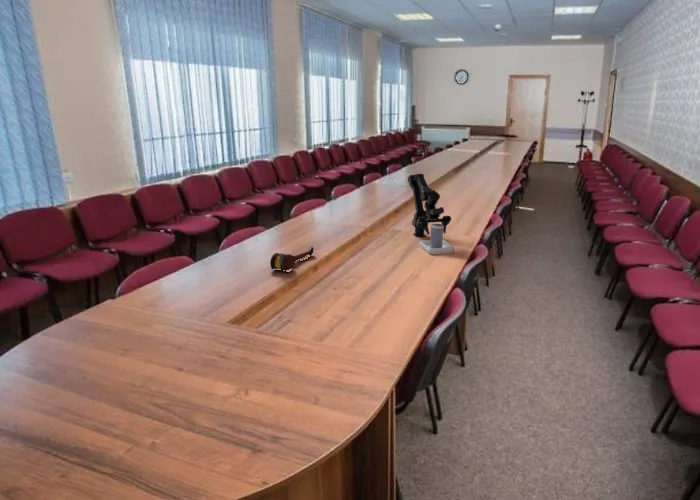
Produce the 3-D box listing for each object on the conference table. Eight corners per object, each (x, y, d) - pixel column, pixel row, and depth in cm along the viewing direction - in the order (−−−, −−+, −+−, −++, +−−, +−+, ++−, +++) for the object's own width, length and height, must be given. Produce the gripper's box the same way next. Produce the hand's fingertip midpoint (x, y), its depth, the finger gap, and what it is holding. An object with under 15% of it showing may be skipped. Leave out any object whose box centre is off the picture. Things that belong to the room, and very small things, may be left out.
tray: (419, 246, 273) (419, 241, 272) (442, 244, 276) (442, 239, 275) (429, 254, 258) (429, 249, 257) (453, 252, 261) (454, 247, 260)
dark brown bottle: (304, 258, 262) (320, 261, 257) (266, 273, 231) (283, 276, 227) (304, 240, 259) (320, 242, 255) (265, 252, 229) (283, 255, 225)
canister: (431, 245, 271) (432, 223, 267) (443, 246, 269) (444, 224, 265) (428, 249, 265) (430, 226, 261) (441, 250, 263) (442, 227, 259)
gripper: (418, 202, 263) (424, 227, 256) (451, 201, 266) (457, 225, 259) (413, 213, 273) (419, 237, 266) (445, 212, 276) (451, 235, 269)
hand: (436, 233), depth 264 cm, fingers open, 9 cm apart
